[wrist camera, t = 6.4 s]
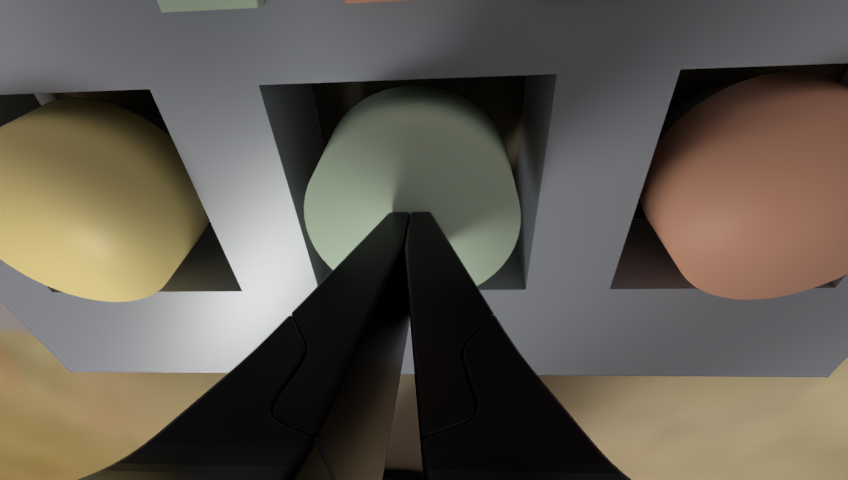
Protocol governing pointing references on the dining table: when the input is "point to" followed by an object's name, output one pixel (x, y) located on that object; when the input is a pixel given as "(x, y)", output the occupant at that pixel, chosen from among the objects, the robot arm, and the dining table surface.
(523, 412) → the robot arm
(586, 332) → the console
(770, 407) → the dining table surface
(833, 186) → the button terracotta
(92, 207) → the button mustard
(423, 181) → the button sage
